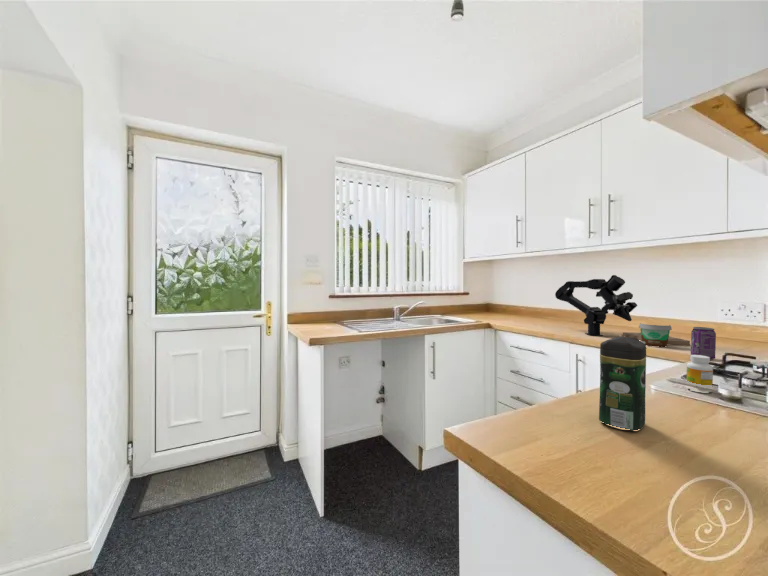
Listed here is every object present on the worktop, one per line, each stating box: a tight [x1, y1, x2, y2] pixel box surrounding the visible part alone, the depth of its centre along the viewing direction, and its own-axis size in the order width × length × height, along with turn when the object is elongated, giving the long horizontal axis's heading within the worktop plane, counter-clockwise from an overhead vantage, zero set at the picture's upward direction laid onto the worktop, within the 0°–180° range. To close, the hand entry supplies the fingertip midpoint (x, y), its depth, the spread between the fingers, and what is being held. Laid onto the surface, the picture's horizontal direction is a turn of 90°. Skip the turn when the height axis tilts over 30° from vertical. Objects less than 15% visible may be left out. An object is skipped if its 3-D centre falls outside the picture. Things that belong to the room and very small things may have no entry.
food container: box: [638, 323, 672, 348], centre depth 159 cm, size 12×6×10 cm, turn 62°
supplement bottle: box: [686, 354, 714, 385], centre depth 95 cm, size 5×5×10 cm
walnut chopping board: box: [621, 331, 691, 346], centre depth 174 cm, size 24×16×2 cm, turn 176°
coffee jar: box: [598, 336, 648, 430], centre depth 73 cm, size 10×8×19 cm
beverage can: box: [690, 326, 717, 361], centre depth 135 cm, size 7×7×12 cm
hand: (630, 320), depth 170 cm, fingers closed
